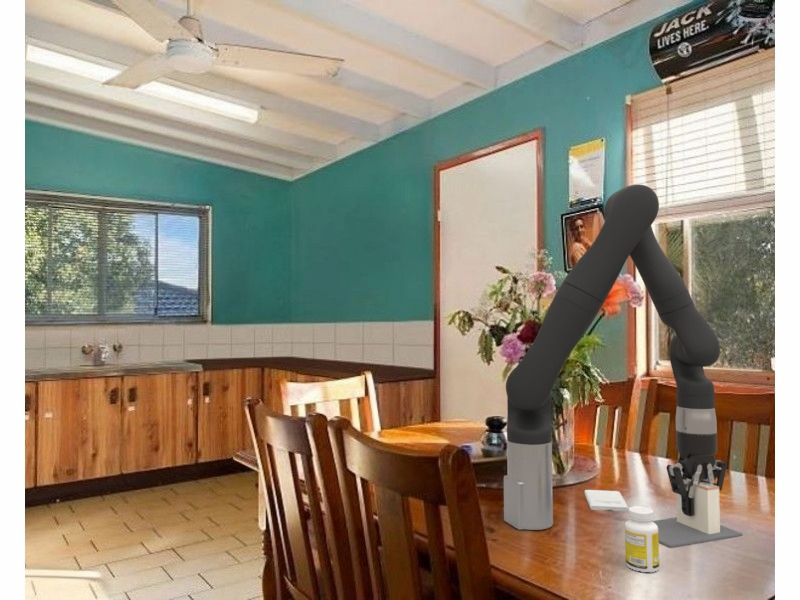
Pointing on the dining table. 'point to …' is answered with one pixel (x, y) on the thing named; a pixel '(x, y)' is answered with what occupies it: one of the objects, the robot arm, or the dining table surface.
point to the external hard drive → (606, 500)
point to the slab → (702, 509)
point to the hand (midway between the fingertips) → (697, 513)
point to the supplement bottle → (641, 540)
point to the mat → (688, 533)
